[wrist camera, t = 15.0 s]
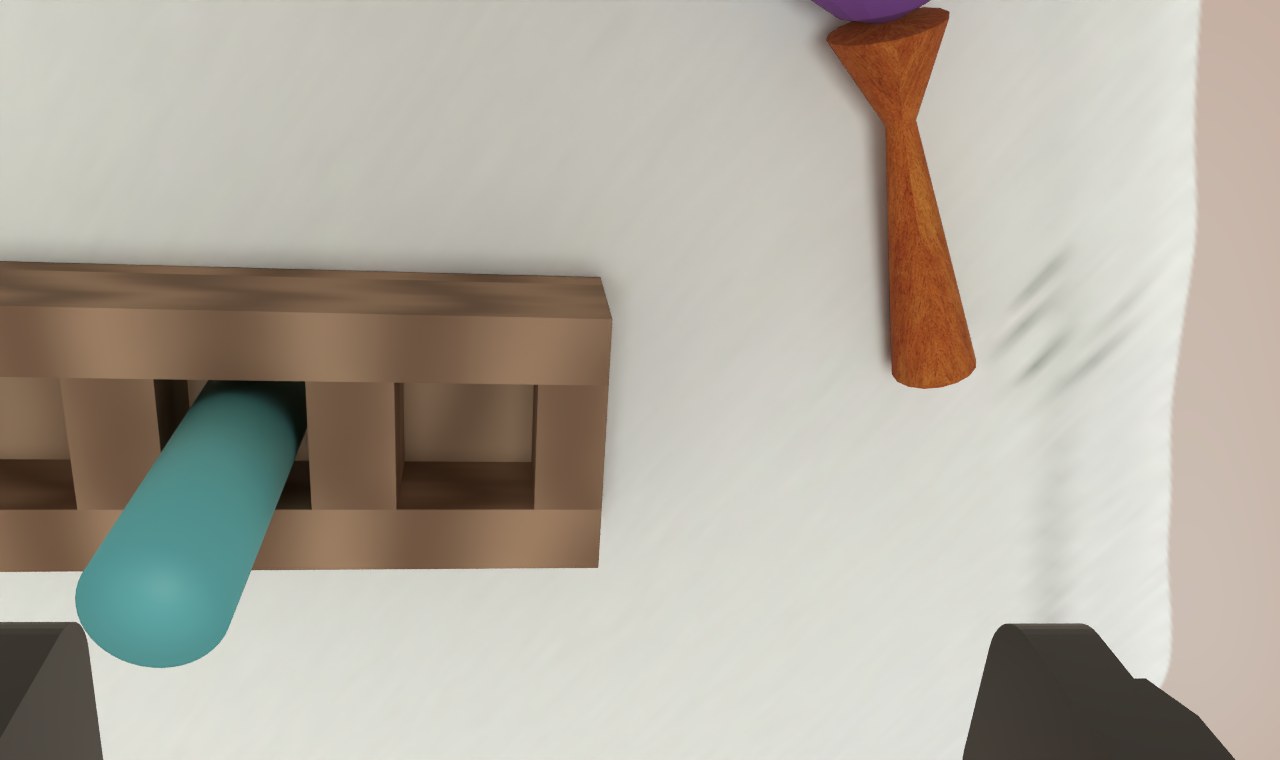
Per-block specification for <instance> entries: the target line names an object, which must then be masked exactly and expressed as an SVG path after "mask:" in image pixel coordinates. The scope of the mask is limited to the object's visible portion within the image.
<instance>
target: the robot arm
mask: <svg viewBox="0 0 1280 760" xmlns="http://www.w3.org/2000/svg"><path fill="white" fill-rule="evenodd" d="M0 760H103V755H102V748H101V740H100V732H99V725H98V717H97V710H96V702H95V694H94V687H93V679H92V672H91V664H90V656H89V649H88V643H87V638H86V635H85V632H84V630H83V628H82V627H81V625H80V624H78V623H76V622H0ZM963 760H1235V759H1234V758H1233V757H1232V755H1231V754H1230V753H1229V752H1228V751H1227V749H1226V748H1225V747H1224V746H1223V745H1222V743H1221V742H1220V741H1219V740H1218V739H1217V738H1216V736H1215V735H1214V734H1213V733H1212V732H1211V731H1210V729H1209V728H1208V727H1207V726H1206V725H1205V723H1204V722H1203V721H1202V720H1201V719H1200V717H1199V716H1198V715H1196V714H1195V713H1193V712H1192V711H1190V710H1189V709H1188V708H1186V707H1185V706H1183V705H1182V704H1181V703H1179V702H1178V701H1176V700H1175V699H1174V698H1172V697H1171V696H1169V695H1168V694H1167V693H1165V692H1164V691H1162V690H1161V689H1160V688H1158V687H1157V686H1155V685H1154V684H1153V683H1151V682H1150V681H1148V680H1147V679H1134V678H1133V677H1132V676H1131V675H1130V673H1129V672H1128V671H1127V670H1126V668H1125V667H1124V666H1123V665H1122V663H1121V662H1120V661H1119V660H1118V658H1117V657H1116V656H1115V655H1114V653H1113V652H1112V651H1111V650H1110V648H1109V647H1108V646H1107V645H1106V643H1105V642H1104V641H1103V640H1102V639H1101V637H1100V636H1099V635H1098V634H1097V633H1096V632H1095V631H1094V629H1092V628H1091V627H1089V626H1088V625H1085V624H1004V625H1002V626H1001V627H999V628H998V630H997V631H996V632H995V634H994V636H993V638H992V641H991V644H990V648H989V652H988V656H987V660H986V664H985V668H984V672H983V676H982V680H981V684H980V688H979V692H978V696H977V700H976V704H975V708H974V712H973V716H972V720H971V725H970V729H969V733H968V737H967V741H966V745H965V749H964V754H963Z"/></svg>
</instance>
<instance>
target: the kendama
mask: <svg viewBox="0 0 1280 760" xmlns="http://www.w3.org/2000/svg"><path fill="white" fill-rule="evenodd" d="M812 1H813V2H815V3H816V4H818V5H819V6H821V7H822V8H824V9H825V10H827V11H828V12H830V13H831V14H833V15H834V16H836V17H837V18H839V19H841V20H849V21H853V22H851V23H848V24H846V25H843V26H841V27H839V28H837V29H836V30H834V31H833V32H831V33H830V34H829V35H828V38H827V42H828V43H829V45H830V46H831V48H832V49H833V50H834V52H835V53H836V55H837V56H838V58H839V59H840V61H841V62H842V64H843V65H844V66H845V68H846V69H847V71H848V72H849V74H850V75H851V77H852V78H853V80H854V81H855V82H856V84H857V85H858V87H859V88H860V90H861V91H862V93H863V94H864V96H865V97H866V99H867V100H868V101H869V103H870V104H871V106H872V107H873V109H874V110H875V112H876V113H877V115H878V116H879V117H880V119H881V120H882V122H883V123H884V125H885V131H886V169H887V206H888V244H889V281H890V319H891V357H892V375H893V377H894V378H895V379H896V380H897V382H899V383H902V384H904V385H906V386H908V387H915V388H923V389H927V388H939V387H944V386H947V385H951V384H954V383H958V382H959V381H961V380H963V379H964V378H966V377H968V376H969V375H970V374H971V373H972V372H973V370H974V369H975V368H976V358H975V354H974V350H973V346H972V342H971V338H970V334H969V330H968V326H967V322H966V318H965V314H964V310H963V306H962V302H961V298H960V294H959V290H958V286H957V282H956V278H955V274H954V270H953V266H952V262H951V258H950V254H949V250H948V246H947V242H946V238H945V234H944V230H943V226H942V222H941V218H940V214H939V210H938V206H937V202H936V198H935V194H934V190H933V186H932V182H931V178H930V175H929V171H928V167H927V163H926V159H925V155H924V151H923V147H922V143H921V139H920V135H919V131H918V127H917V123H916V118H917V115H918V112H919V109H920V106H921V103H922V100H923V97H924V94H925V90H926V87H927V84H928V81H929V78H930V75H931V72H932V69H933V66H934V63H935V60H936V57H937V53H938V50H939V47H940V44H941V41H942V38H943V35H944V32H945V29H946V26H947V23H948V20H949V11H946V10H944V9H941V8H927V7H922V8H919V7H920V6H922V5H924V4H926V3H927V2H929V1H930V0H812Z"/></svg>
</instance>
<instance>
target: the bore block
mask: <svg viewBox="0 0 1280 760" xmlns="http://www.w3.org/2000/svg"><path fill="white" fill-rule="evenodd" d="M611 333H612V317H611V313H610V310H609V306H608V303H607V299H606V296H605V292H604V289H603V285H602V282H601V278H600V277H565V276H527V275H490V274H453V273H416V272H378V271H341V270H304V269H267V268H229V267H192V266H155V265H117V264H80V263H43V262H6V261H0V572H50V571H84V570H85V568H86V567H87V565H88V564H89V562H90V560H91V559H92V557H93V556H94V554H95V553H96V551H97V550H98V548H99V547H100V545H101V544H102V542H103V541H104V539H105V538H106V536H107V534H108V533H109V531H110V530H111V528H112V527H113V525H114V524H115V522H116V521H117V519H118V518H119V516H120V515H121V513H122V511H123V510H124V508H125V507H126V505H127V504H128V502H129V501H130V499H131V498H132V496H133V495H134V493H135V492H136V490H137V489H138V487H139V485H140V484H141V482H142V481H143V479H144V478H145V476H146V475H147V473H148V472H149V470H150V469H151V467H152V466H153V464H154V462H155V461H156V459H157V458H158V456H159V455H160V453H161V452H162V450H163V449H164V447H165V446H166V444H167V443H168V441H169V440H170V438H171V436H172V435H173V433H174V432H175V430H176V429H177V427H178V426H179V424H180V423H181V421H182V420H183V418H184V417H185V415H186V413H187V412H188V410H189V409H190V407H191V406H192V404H193V403H194V401H195V400H196V398H197V397H198V395H199V394H200V392H201V391H202V389H203V387H204V386H205V384H206V383H207V381H208V380H247V381H305V387H306V407H307V426H308V427H307V429H306V432H305V435H304V437H303V440H302V442H301V445H300V447H299V450H298V452H297V455H296V457H295V460H294V463H293V465H292V468H291V470H290V473H289V475H288V478H287V480H286V483H285V485H284V488H283V490H282V493H281V496H280V498H279V501H278V503H277V506H276V508H275V511H274V513H273V516H272V518H271V521H270V523H269V526H268V529H267V531H266V534H265V536H264V539H263V541H262V544H261V546H260V549H259V551H258V554H257V557H256V559H255V562H254V564H253V567H252V569H251V570H340V569H485V568H598V562H599V545H600V527H601V509H602V492H603V474H604V457H605V439H606V421H607V404H608V386H609V368H610V351H611Z"/></svg>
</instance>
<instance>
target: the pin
mask: <svg viewBox="0 0 1280 760" xmlns="http://www.w3.org/2000/svg"><path fill="white" fill-rule="evenodd" d="M307 427H308V426H307V407H306V387H305V381H247V380H208V381H207V383H206V384H205V386H204V387H203V389H202V391H201V392H200V394H199V395H198V397H197V398H196V400H195V401H194V403H193V404H192V406H191V407H190V409H189V410H188V412H187V413H186V415H185V417H184V418H183V420H182V421H181V423H180V424H179V426H178V427H177V429H176V430H175V432H174V433H173V435H172V436H171V438H170V440H169V441H168V443H167V444H166V446H165V447H164V449H163V450H162V452H161V453H160V455H159V456H158V458H157V459H156V461H155V462H154V464H153V466H152V467H151V469H150V470H149V472H148V473H147V475H146V476H145V478H144V479H143V481H142V482H141V484H140V485H139V487H138V489H137V490H136V492H135V493H134V495H133V496H132V498H131V499H130V501H129V502H128V504H127V505H126V507H125V508H124V510H123V511H122V513H121V515H120V516H119V518H118V519H117V521H116V522H115V524H114V525H113V527H112V528H111V530H110V531H109V533H108V534H107V536H106V538H105V539H104V541H103V542H102V544H101V545H100V547H99V548H98V550H97V551H96V553H95V554H94V556H93V557H92V559H91V560H90V562H89V564H88V565H87V567H86V568H85V570H84V571H83V573H82V575H81V577H80V579H79V581H78V585H77V588H76V596H75V601H76V609H77V614H78V617H79V619H80V622H81V624H82V626H83V627H84V629H85V631H86V632H87V633H88V635H89V636H90V637H91V639H92V640H93V641H94V642H95V643H96V644H97V645H99V646H100V647H101V648H102V649H104V650H105V651H106V652H108V653H110V654H111V655H113V656H115V657H117V658H119V659H121V660H123V661H126V662H129V663H131V664H135V665H139V666H145V667H152V668H166V667H175V666H181V665H184V664H187V663H191V662H193V661H195V660H198V659H200V658H201V657H203V656H205V655H206V654H208V653H209V652H210V651H212V650H213V649H214V648H215V647H216V646H217V645H218V644H219V643H220V641H221V640H222V639H223V637H224V636H225V634H226V632H227V630H228V628H229V625H230V623H231V620H232V618H233V615H234V612H235V610H236V607H237V605H238V602H239V600H240V597H241V595H242V592H243V590H244V587H245V584H246V582H247V579H248V577H249V574H250V572H251V569H252V567H253V564H254V562H255V559H256V557H257V554H258V551H259V549H260V546H261V544H262V541H263V539H264V536H265V534H266V531H267V529H268V526H269V523H270V521H271V518H272V516H273V513H274V511H275V508H276V506H277V503H278V501H279V498H280V496H281V493H282V490H283V488H284V485H285V483H286V480H287V478H288V475H289V473H290V470H291V468H292V465H293V463H294V460H295V457H296V455H297V452H298V450H299V447H300V445H301V442H302V440H303V437H304V435H305V432H306V429H307Z"/></svg>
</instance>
